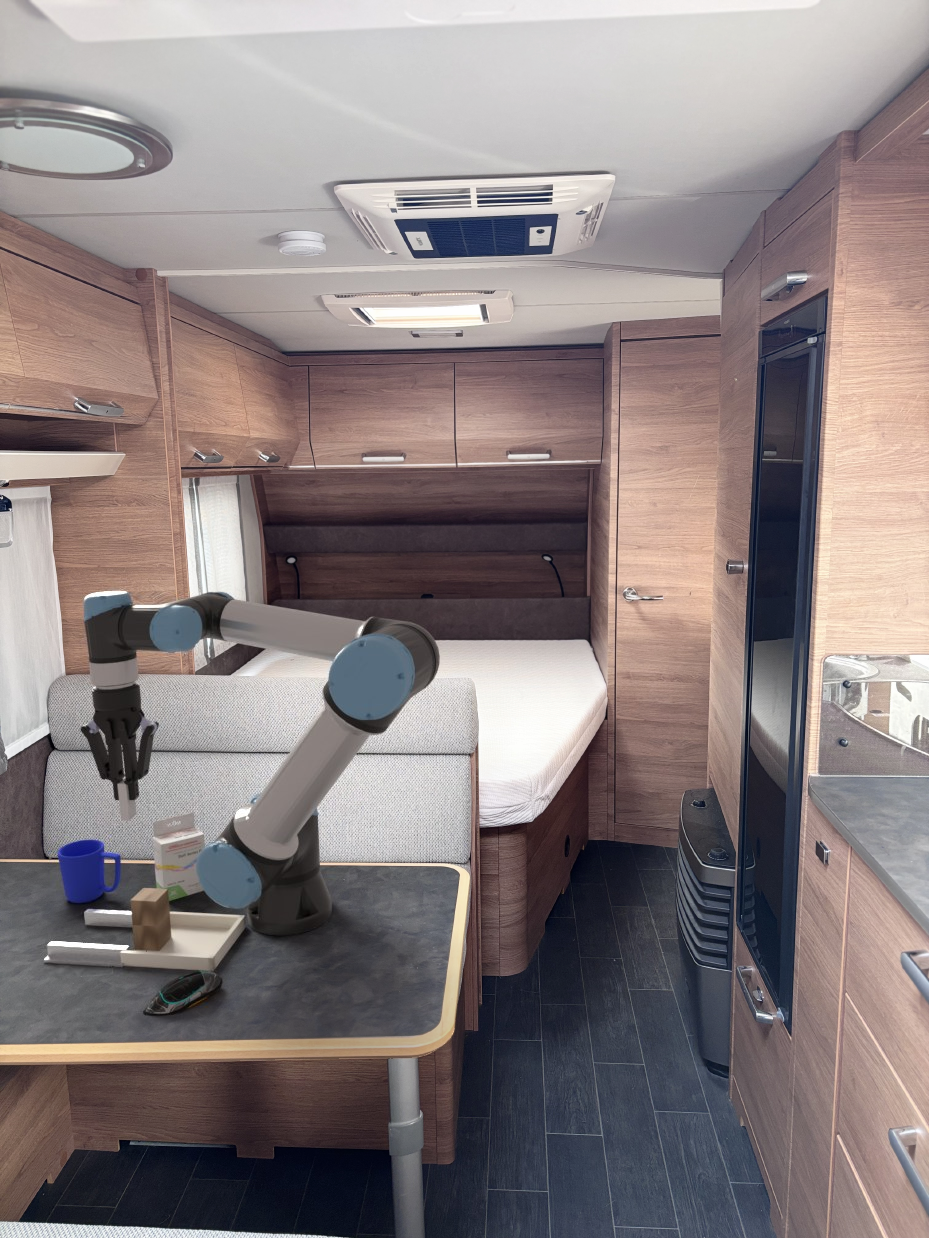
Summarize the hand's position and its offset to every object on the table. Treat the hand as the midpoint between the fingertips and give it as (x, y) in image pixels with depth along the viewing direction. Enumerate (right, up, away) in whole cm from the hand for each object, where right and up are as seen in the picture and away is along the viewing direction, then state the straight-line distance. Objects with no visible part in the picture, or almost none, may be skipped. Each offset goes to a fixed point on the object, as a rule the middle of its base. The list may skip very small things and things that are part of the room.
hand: (128, 817), depth 152 cm
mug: (-13, -20, +18) cm, 30 cm away
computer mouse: (+15, -25, -16) cm, 33 cm away
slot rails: (-4, -22, +2) cm, 23 cm away
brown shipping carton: (+2, -15, 0) cm, 15 cm away
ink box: (+3, -19, +19) cm, 27 cm away
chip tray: (+10, -22, 0) cm, 24 cm away
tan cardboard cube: (+2, -20, 0) cm, 20 cm away
